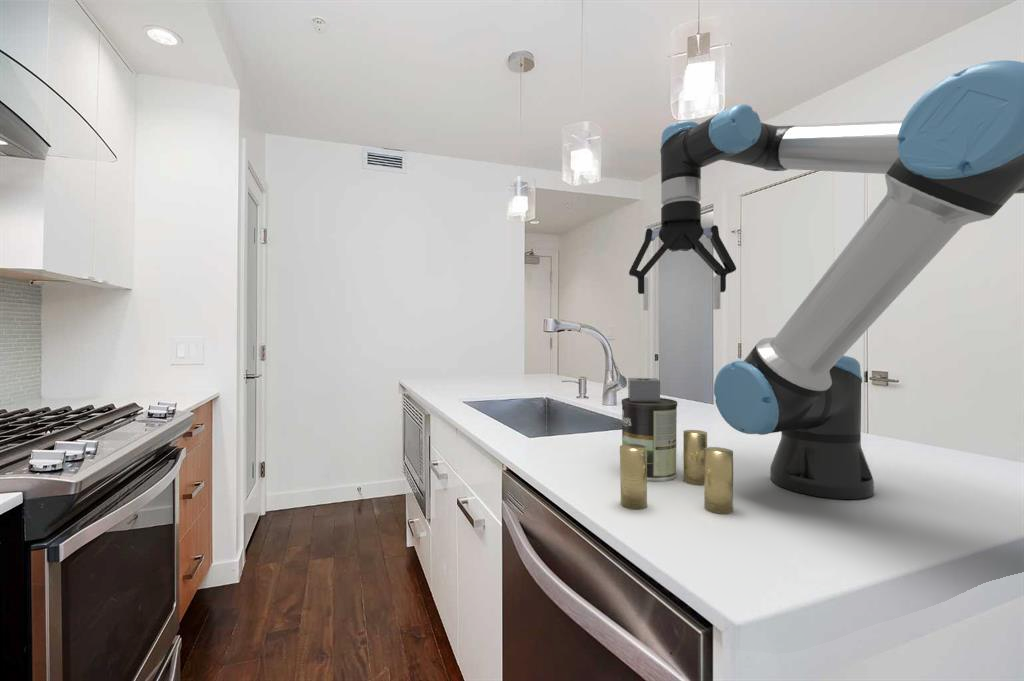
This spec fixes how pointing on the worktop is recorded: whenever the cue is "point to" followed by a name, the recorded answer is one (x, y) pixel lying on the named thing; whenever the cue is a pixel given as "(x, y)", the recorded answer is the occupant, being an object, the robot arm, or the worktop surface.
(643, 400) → the grey square block
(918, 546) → the worktop surface
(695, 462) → the brass spacer
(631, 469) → the brass spacer
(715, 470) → the brass spacer
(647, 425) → the coffee can
